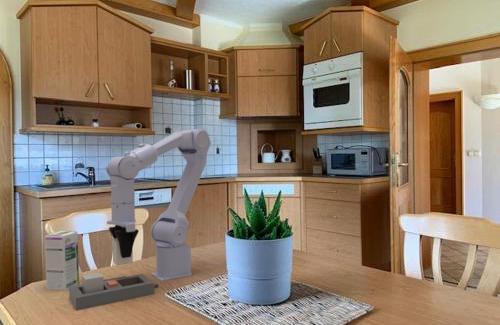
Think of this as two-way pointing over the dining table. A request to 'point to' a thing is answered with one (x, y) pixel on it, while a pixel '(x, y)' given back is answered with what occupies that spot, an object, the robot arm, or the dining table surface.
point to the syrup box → (62, 260)
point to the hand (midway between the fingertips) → (123, 255)
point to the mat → (113, 278)
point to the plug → (117, 255)
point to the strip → (109, 290)
